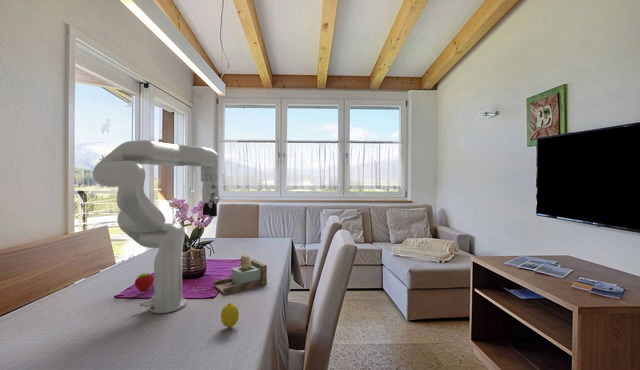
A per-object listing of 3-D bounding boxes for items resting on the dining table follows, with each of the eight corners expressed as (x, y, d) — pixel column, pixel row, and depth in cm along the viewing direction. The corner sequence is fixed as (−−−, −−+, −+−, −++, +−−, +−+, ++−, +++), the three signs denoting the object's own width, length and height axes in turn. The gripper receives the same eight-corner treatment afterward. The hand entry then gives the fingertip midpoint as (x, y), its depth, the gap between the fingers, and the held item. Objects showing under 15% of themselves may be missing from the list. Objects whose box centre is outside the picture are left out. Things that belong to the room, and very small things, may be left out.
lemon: (229, 333, 91) (229, 308, 91) (217, 329, 94) (217, 304, 94) (242, 326, 96) (242, 301, 96) (230, 322, 99) (230, 298, 99)
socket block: (240, 286, 130) (240, 273, 130) (231, 281, 138) (231, 268, 138) (261, 282, 136) (260, 269, 136) (251, 276, 144) (251, 264, 144)
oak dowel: (251, 277, 137) (251, 256, 137) (243, 279, 134) (243, 257, 134) (247, 275, 140) (247, 254, 140) (239, 277, 137) (239, 255, 137)
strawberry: (157, 291, 128) (157, 268, 128) (139, 297, 121) (139, 273, 121) (149, 289, 131) (148, 267, 131) (131, 295, 124) (131, 271, 124)
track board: (224, 294, 124) (224, 273, 124) (213, 286, 134) (213, 266, 134) (266, 284, 136) (266, 265, 136) (254, 277, 146) (254, 259, 146)
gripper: (224, 178, 131) (224, 216, 131) (211, 179, 145) (211, 213, 145) (207, 178, 126) (207, 217, 126) (195, 178, 140) (195, 214, 140)
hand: (209, 215), depth 135 cm, fingers open, 9 cm apart
